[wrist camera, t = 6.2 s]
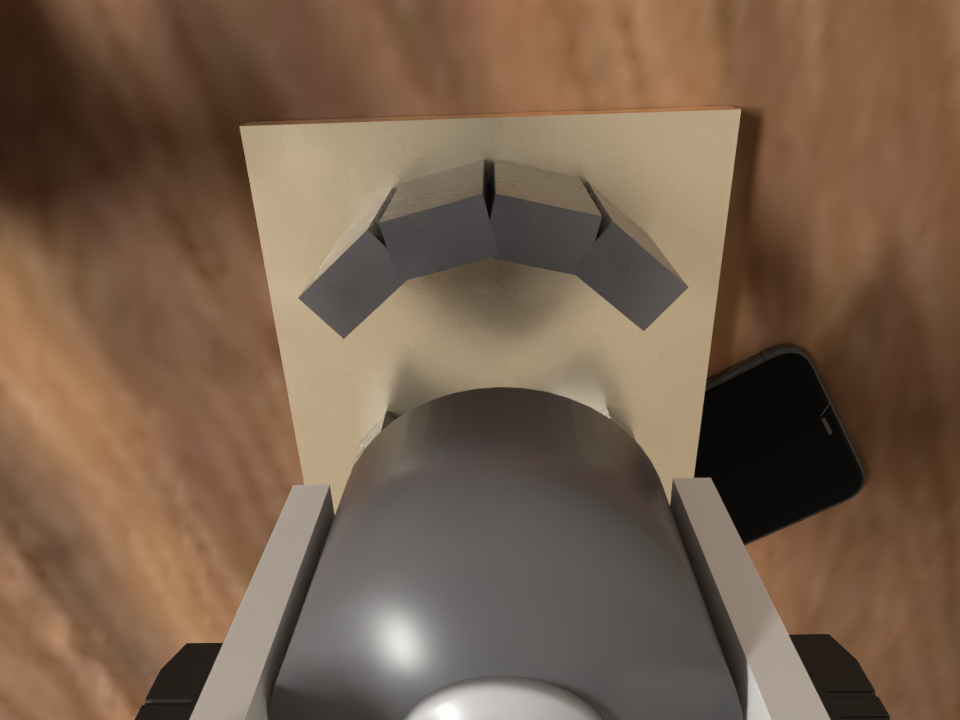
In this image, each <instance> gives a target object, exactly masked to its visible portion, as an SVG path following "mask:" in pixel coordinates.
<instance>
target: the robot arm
mask: <svg viewBox="0 0 960 720" xmlns="http://www.w3.org/2000/svg"><path fill="white" fill-rule="evenodd" d="M670 508H671V510H672V513H673V516H674V519H675V522H676V524H677V527H678V530H679V533H680V535H681V538H682V541H683V544H684V547H685V549H686V552H687V555H688V558H689V560H690V563H691V566H692V569H693V572H694V574H695V577H696V580H697V583H698V586H699V588H700V591H701V594H702V597H703V599H704V602H705V605H706V608H707V611H708V613H709V616H710V619H711V622H712V624H713V627H714V630H715V633H716V636H717V638H718V641H719V644H720V647H721V650H722V652H723V655H724V658H725V661H726V663H727V666H728V669H729V672H730V675H731V677H732V680H733V683H734V686H735V688H736V692H737V695H738V698H739V701H740V705H741V708H742V711H743V720H890V716H889V714H888V712H887V711H886V709H885V707H884V706H883V704H882V702H881V700H880V699H879V697H876V695H875V690H874V688H873V687H872V685H871V683H870V682H869V680H868V678H867V677H866V675H865V673H864V671H863V670H862V668H861V666H860V665H859V663H858V661H857V660H856V659H855V658H854V657H853V656H852V655H851V654H850V653H849V652H848V651H846V650H845V649H844V648H843V647H842V646H841V645H840V644H839V643H838V642H837V641H836V640H835V639H833V638H832V637H831V636H830V635H829V634H808V635H788V633H787V631H786V629H785V627H784V625H783V623H782V621H781V619H780V617H779V615H778V613H777V611H776V609H775V606H774V604H773V602H772V600H771V598H770V596H769V594H768V592H767V590H766V588H765V586H764V584H763V582H762V580H761V578H760V576H759V574H758V572H757V570H756V568H755V566H754V564H753V562H752V560H751V558H750V556H749V554H748V552H747V550H746V548H745V546H744V544H743V542H742V540H741V538H740V536H739V534H738V532H737V530H736V528H735V526H734V524H733V522H732V520H731V518H730V516H729V514H728V512H727V510H726V508H725V506H724V504H723V501H722V499H721V497H720V495H719V493H718V491H717V489H716V487H715V485H714V483H713V481H712V479H711V478H673V482H672V491H671V501H670ZM334 517H335V514H334V508H333V502H332V495H331V489H330V485H293V487H292V489H291V492H290V494H289V496H288V498H287V501H286V503H285V505H284V507H283V510H282V512H281V514H280V516H279V519H278V521H277V523H276V525H275V528H274V530H273V532H272V534H271V537H270V539H269V541H268V543H267V546H266V548H265V550H264V552H263V555H262V557H261V559H260V561H259V564H258V566H257V568H256V570H255V573H254V575H253V577H252V579H251V582H250V584H249V586H248V588H247V591H246V593H245V595H244V598H243V600H242V602H241V604H240V607H239V609H238V611H237V613H236V616H235V618H234V620H233V622H232V625H231V627H230V629H229V631H228V634H227V636H226V638H225V640H224V643H187V644H186V645H185V646H184V647H183V648H182V649H181V650H180V651H179V652H178V653H177V654H176V655H175V656H174V657H173V658H172V659H171V660H170V661H169V662H168V663H167V664H166V665H165V666H164V667H163V668H162V669H161V671H160V672H159V674H158V676H157V678H156V680H155V682H154V684H153V686H152V688H151V690H150V692H149V693H148V695H147V697H146V699H145V700H146V702H145V705H142V707H141V709H140V711H139V713H138V714H137V716H136V718H135V720H268V709H269V705H270V700H271V696H272V692H273V688H274V685H275V683H276V680H277V677H278V674H279V671H280V669H281V666H282V663H283V660H284V657H285V654H286V652H287V649H288V646H289V643H290V640H291V638H292V635H293V632H294V629H295V626H296V624H297V621H298V618H299V615H300V612H301V610H302V607H303V604H304V601H305V598H306V595H307V593H308V590H309V587H310V584H311V581H312V579H313V576H314V573H315V570H316V567H317V565H318V562H319V559H320V556H321V553H322V551H323V548H324V545H325V542H326V539H327V536H328V534H329V531H330V528H331V525H332V522H333V520H334Z"/></svg>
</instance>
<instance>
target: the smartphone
mask: <svg viewBox="0 0 960 720" xmlns="http://www.w3.org/2000/svg"><path fill="white" fill-rule="evenodd" d="M694 478H711V479H712V481H713V483H714V485H715V487H716V489H717V491H718V493H719V495H720V497H721V499H722V501H723V504H724V506H725V508H726V510H727V512H728V514H729V516H730V518H731V520H732V522H733V524H734V526H735V528H736V530H737V532H738V534H739V536H740V538H741V540H742V542H743V544H744V546H745V545H747V544H749V543H751V542H754V541H756V540H758V539H761V538H763V537H765V536H767V535H770V534H772V533H774V532H777V531H779V530H781V529H784V528H786V527H788V526H790V525H793V524H795V523H797V522H800V521H802V520H804V519H807V518H809V517H811V516H813V515H816V514H818V513H820V512H823V511H825V510H827V509H830V508H832V507H834V506H836V505H839V504H841V503H843V502H845V501H847V500H849V499H851V498H853V497H854V496H856V495H857V494H858V493H859V492H860V491H861V490H862V488H863V486H864V484H865V480H866V475H865V470H864V467H863V465H862V463H861V461H860V458H859V456H858V454H857V452H856V450H855V448H854V446H853V443H852V441H851V439H850V437H849V435H848V433H847V431H846V429H845V427H844V424H843V422H842V420H841V418H840V416H839V414H838V412H837V410H836V408H835V406H834V404H833V401H832V399H831V397H830V395H829V393H828V391H827V389H826V387H825V385H824V383H823V381H822V379H821V377H820V374H819V372H818V370H817V368H816V366H815V364H814V362H813V360H812V359H811V357H810V356H809V354H808V353H807V352H806V351H805V350H804V349H802V348H801V347H799V346H797V345H794V344H781V345H777V346H774V347H771V348H769V349H766V350H764V351H762V352H760V353H758V354H756V355H754V356H752V357H750V358H748V359H746V360H744V361H742V362H741V363H739V364H737V365H735V366H733V367H731V368H729V369H727V370H725V371H723V372H721V373H719V374H717V375H715V376H713V377H711V378H708V379H706V387H705V395H704V403H703V410H702V418H701V426H700V434H699V441H698V449H697V457H696V465H695V472H694Z"/></svg>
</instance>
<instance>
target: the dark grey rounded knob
mask: <svg viewBox="0 0 960 720" xmlns="http://www.w3.org/2000/svg"><path fill="white" fill-rule="evenodd" d="M268 720H743V711H742V708H741V705H740V701H739V698H738V695H737V692H736V688H735V686H734V683H733V680H732V677H731V675H730V672H729V669H728V666H727V663H726V661H725V658H724V655H723V652H722V650H721V647H720V644H719V641H718V638H717V636H716V633H715V630H714V627H713V624H712V622H711V619H710V616H709V613H708V611H707V608H706V605H705V602H704V599H703V597H702V594H701V591H700V588H699V586H698V583H697V580H696V577H695V574H694V572H693V569H692V566H691V563H690V560H689V558H688V555H687V552H686V549H685V547H684V544H683V541H682V538H681V535H680V533H679V530H678V527H677V524H676V522H675V519H674V516H673V513H672V510H671V508H670V505H669V502H668V499H667V496H666V494H665V491H664V488H663V485H662V483H661V480H660V477H659V475H658V473H657V471H656V470H655V468H654V466H653V464H652V462H651V460H650V459H649V457H648V456H647V455H646V453H645V452H644V450H643V449H642V448H641V446H640V445H639V444H638V443H637V442H636V441H635V440H634V439H633V438H632V437H631V436H630V435H629V434H628V433H627V432H626V431H625V430H624V429H623V428H621V427H620V426H619V425H617V424H616V423H615V422H614V421H612V420H611V419H610V418H608V417H606V416H605V415H603V414H601V413H600V412H598V411H596V410H594V409H593V408H591V407H589V406H586V405H584V404H582V403H579V402H577V401H575V400H572V399H570V398H567V397H563V396H560V395H556V394H553V393H549V392H545V391H539V390H533V389H527V388H511V387H493V388H479V389H472V390H467V391H462V392H457V393H452V394H449V395H446V396H443V397H440V398H437V399H434V400H431V401H429V402H427V403H424V404H422V405H420V406H418V407H416V408H414V409H412V410H410V411H408V412H407V413H405V414H404V415H402V416H401V417H399V418H397V419H396V420H394V421H393V422H392V423H391V424H389V425H388V426H387V427H386V428H385V429H383V430H382V431H381V432H380V433H379V434H378V435H377V436H376V437H375V438H374V439H373V440H372V441H371V442H370V444H369V445H368V446H367V447H366V448H365V449H364V451H363V452H362V454H361V456H360V457H359V459H358V460H357V462H356V463H355V465H354V467H353V469H352V472H351V474H350V476H349V478H348V480H347V483H346V486H345V489H344V492H343V494H342V497H341V500H340V503H339V506H338V508H337V511H336V514H335V517H334V520H333V522H332V525H331V528H330V531H329V534H328V536H327V539H326V542H325V545H324V548H323V551H322V553H321V556H320V559H319V562H318V565H317V567H316V570H315V573H314V576H313V579H312V581H311V584H310V587H309V590H308V593H307V595H306V598H305V601H304V604H303V607H302V610H301V612H300V615H299V618H298V621H297V624H296V626H295V629H294V632H293V635H292V638H291V640H290V643H289V646H288V649H287V652H286V654H285V657H284V660H283V663H282V666H281V669H280V671H279V674H278V677H277V680H276V683H275V685H274V688H273V692H272V696H271V700H270V705H269V709H268Z"/></svg>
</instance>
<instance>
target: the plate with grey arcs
mask: <svg viewBox="0 0 960 720" xmlns="http://www.w3.org/2000/svg"><path fill="white" fill-rule="evenodd" d="M740 115H741V109H739V108H736V107H733V106H700V107H671V108H642V109H612V110H583V111H553V112H524V113H495V114H465V115H436V116H406V117H377V118H348V119H318V120H289V121H260V122H249V123H246V124H244V125H241V126H240V132H241V137H242V143H243V148H244V154H245V159H246V165H247V170H248V176H249V181H250V187H251V192H252V198H253V203H254V209H255V215H256V220H257V226H258V231H259V237H260V242H261V248H262V253H263V259H264V264H265V270H266V275H267V281H268V286H269V292H270V297H271V303H272V308H273V314H274V319H275V325H276V330H277V336H278V341H279V347H280V353H281V358H282V364H283V369H284V375H285V380H286V386H287V391H288V397H289V402H290V408H291V413H292V419H293V424H294V430H295V435H296V441H297V446H298V452H299V457H300V463H301V468H302V474H303V479H304V485H330V489H331V495H332V502H333V508H334V514H336V511H337V508H338V506H339V503H340V500H341V497H342V494H343V492H344V489H345V486H346V483H347V480H348V478H349V476H350V474H351V472H352V469H353V467H354V465H355V463H356V462H357V460H358V459H359V457H360V456H361V454H362V452H363V451H364V449H365V448H366V447H367V446H368V445H369V444H370V442H371V441H372V440H373V439H374V438H375V437H376V436H377V435H378V434H379V433H380V432H381V431H382V430H383V429H385V428H386V427H387V426H388V425H389V424H391V423H392V422H393V421H394V420H396V419H397V418H399V417H401V416H402V415H404V414H405V413H407V412H408V411H410V410H412V409H414V408H416V407H418V406H420V405H422V404H424V403H427V402H429V401H431V400H434V399H437V398H440V397H443V396H446V395H449V394H452V393H457V392H462V391H467V390H472V389H479V388H493V387H511V388H527V389H533V390H539V391H545V392H549V393H553V394H556V395H560V396H563V397H567V398H570V399H572V400H575V401H577V402H579V403H582V404H584V405H586V406H589V407H591V408H593V409H594V410H596V411H598V412H600V413H601V414H603V415H605V416H606V417H608V418H610V419H611V420H612V421H614V422H615V423H616V424H617V425H619V426H620V427H621V428H623V429H624V430H625V431H626V432H627V433H628V434H629V435H630V436H631V437H632V438H633V439H634V440H635V441H636V442H637V443H638V444H639V445H640V446H641V448H642V449H643V450H644V452H645V453H646V455H647V456H648V457H649V459H650V460H651V462H652V464H653V466H654V468H655V470H656V471H657V473H658V475H659V477H660V480H661V483H662V485H663V488H664V491H665V494H666V496H667V499H668V502H669V505H670V501H671V491H672V482H673V478H694V472H695V465H696V457H697V449H698V441H699V434H700V426H701V418H702V410H703V403H704V395H705V387H706V379H707V371H708V364H709V356H710V348H711V340H712V333H713V325H714V317H715V309H716V302H717V294H718V286H719V278H720V271H721V263H722V255H723V247H724V240H725V232H726V224H727V216H728V209H729V201H730V193H731V185H732V177H733V170H734V162H735V154H736V146H737V139H738V131H739V123H740Z"/></svg>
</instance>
